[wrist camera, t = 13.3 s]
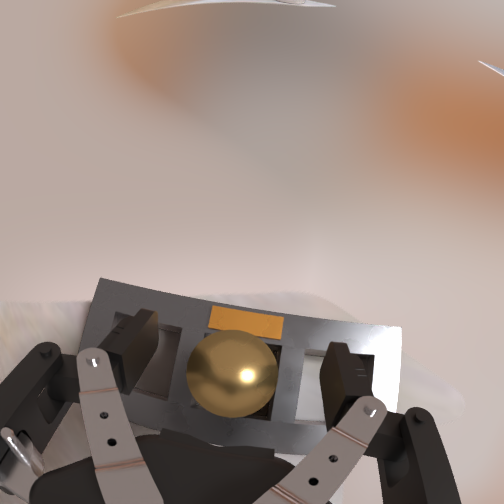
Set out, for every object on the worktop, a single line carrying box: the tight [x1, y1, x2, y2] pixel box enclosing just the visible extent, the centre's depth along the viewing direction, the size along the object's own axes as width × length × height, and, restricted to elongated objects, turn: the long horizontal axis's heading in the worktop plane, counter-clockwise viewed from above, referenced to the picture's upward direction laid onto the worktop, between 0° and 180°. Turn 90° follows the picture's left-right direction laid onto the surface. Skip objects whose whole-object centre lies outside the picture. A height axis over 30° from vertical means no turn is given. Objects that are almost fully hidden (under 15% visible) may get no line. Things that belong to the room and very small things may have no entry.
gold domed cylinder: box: [186, 330, 278, 418], centre depth 16 cm, size 4×4×10 cm
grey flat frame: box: [78, 278, 401, 455], centre depth 19 cm, size 24×10×3 cm, turn 81°
